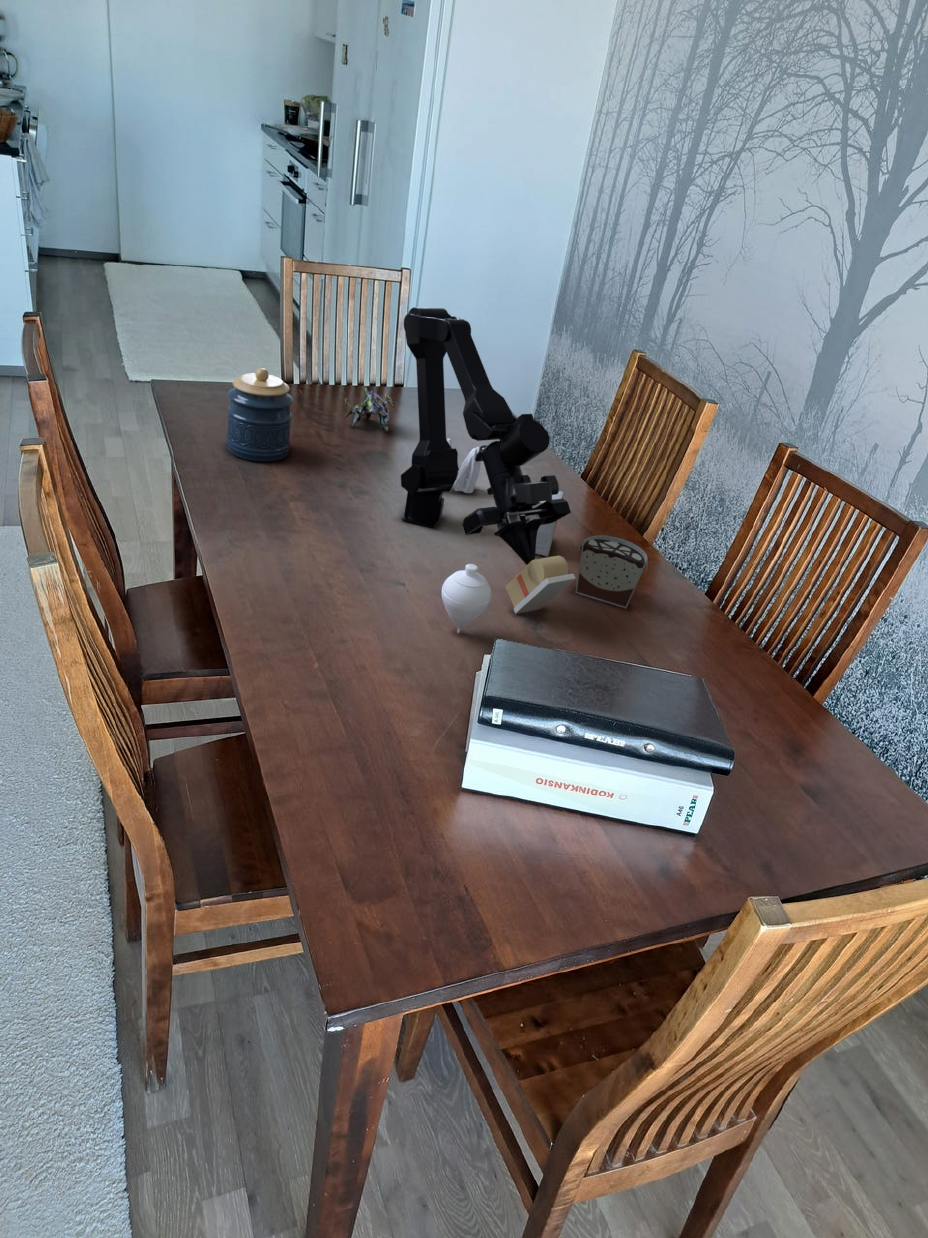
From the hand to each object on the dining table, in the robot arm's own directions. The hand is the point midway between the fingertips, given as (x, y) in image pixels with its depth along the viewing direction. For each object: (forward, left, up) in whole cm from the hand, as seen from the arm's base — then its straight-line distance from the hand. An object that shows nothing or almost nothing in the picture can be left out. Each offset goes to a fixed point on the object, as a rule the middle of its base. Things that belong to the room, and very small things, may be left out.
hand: (531, 565), depth 149 cm
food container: (+14, +12, -8) cm, 19 cm away
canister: (-62, +39, -8) cm, 74 cm away
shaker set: (-21, +42, -8) cm, 47 cm away
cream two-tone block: (0, 0, -6) cm, 6 cm away
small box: (0, +24, -8) cm, 26 cm away
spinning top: (-8, -14, -8) cm, 18 cm away
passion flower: (-46, +66, -8) cm, 81 cm away
